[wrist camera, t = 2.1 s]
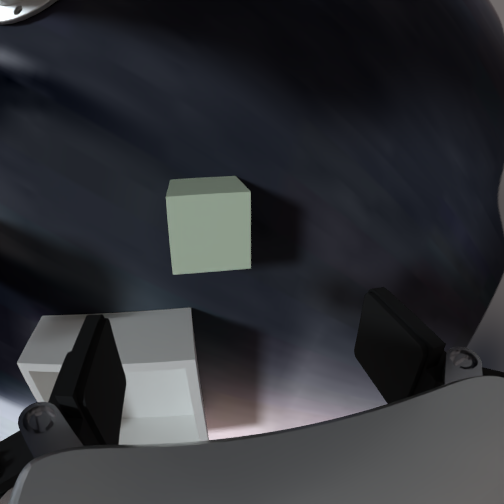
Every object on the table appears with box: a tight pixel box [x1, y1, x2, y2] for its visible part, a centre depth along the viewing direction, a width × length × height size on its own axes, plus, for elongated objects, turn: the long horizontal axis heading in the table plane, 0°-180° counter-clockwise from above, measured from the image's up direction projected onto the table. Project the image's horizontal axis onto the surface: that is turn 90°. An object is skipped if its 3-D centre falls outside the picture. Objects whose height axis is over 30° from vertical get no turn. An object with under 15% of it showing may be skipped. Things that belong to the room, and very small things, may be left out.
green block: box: [166, 176, 251, 275], centre depth 22 cm, size 5×5×6 cm
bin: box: [17, 308, 209, 445], centre depth 26 cm, size 15×15×7 cm
